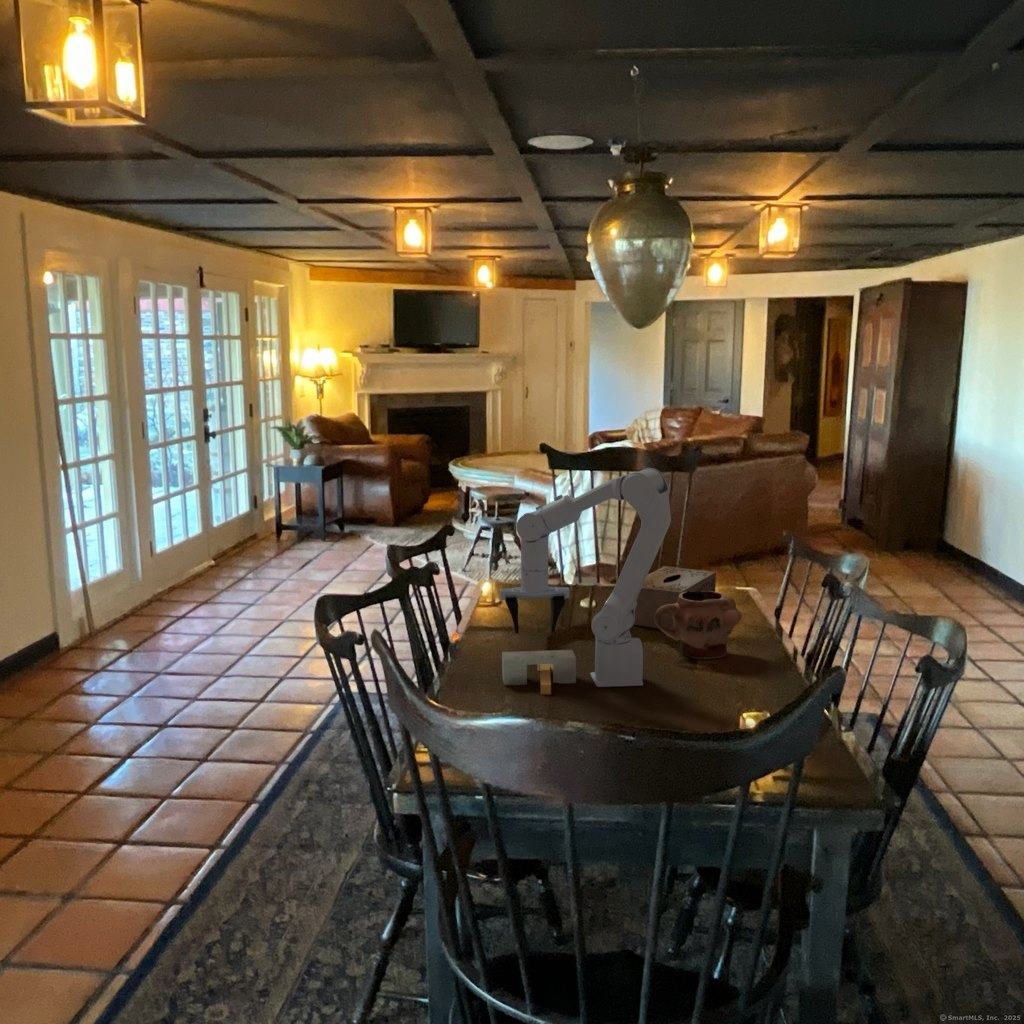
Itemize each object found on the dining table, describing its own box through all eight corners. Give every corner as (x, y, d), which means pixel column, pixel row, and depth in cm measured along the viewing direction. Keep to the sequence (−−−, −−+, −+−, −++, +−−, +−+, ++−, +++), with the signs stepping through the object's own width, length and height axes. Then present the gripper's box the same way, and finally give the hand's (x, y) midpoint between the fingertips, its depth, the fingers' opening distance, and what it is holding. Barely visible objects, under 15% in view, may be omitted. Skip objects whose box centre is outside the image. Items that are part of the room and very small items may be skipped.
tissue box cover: (679, 632, 223) (680, 592, 222) (625, 624, 231) (625, 585, 229) (714, 608, 245) (715, 572, 244) (663, 601, 252) (664, 566, 251)
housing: (571, 674, 192) (572, 649, 191) (575, 682, 187) (575, 657, 186) (502, 677, 191) (502, 652, 190) (504, 685, 186) (504, 659, 185)
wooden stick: (554, 694, 181) (554, 679, 180) (537, 694, 181) (537, 679, 180) (552, 666, 198) (552, 653, 197) (537, 666, 198) (537, 653, 197)
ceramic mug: (667, 667, 197) (668, 604, 195) (644, 650, 208) (645, 590, 206) (751, 659, 202) (753, 597, 200) (724, 643, 214) (725, 584, 211)
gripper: (566, 563, 197) (565, 625, 199) (498, 565, 196) (498, 627, 198) (571, 571, 190) (570, 634, 192) (501, 572, 189) (501, 636, 191)
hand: (534, 631), depth 195 cm, fingers open, 7 cm apart
